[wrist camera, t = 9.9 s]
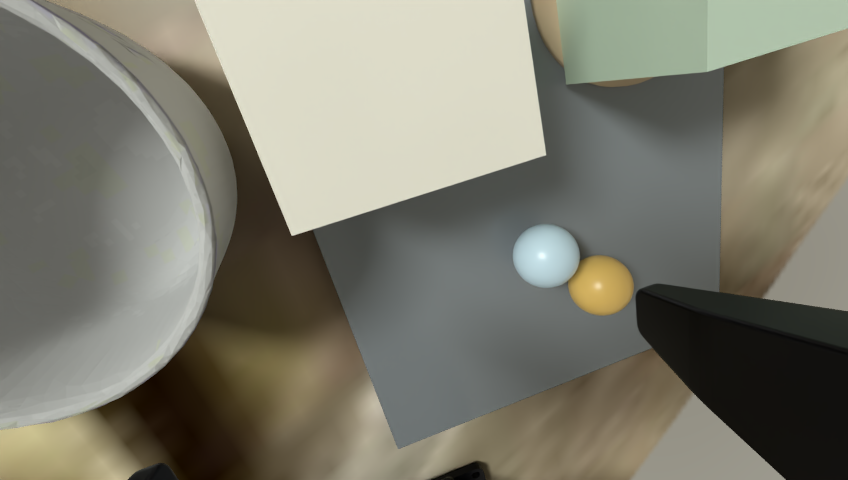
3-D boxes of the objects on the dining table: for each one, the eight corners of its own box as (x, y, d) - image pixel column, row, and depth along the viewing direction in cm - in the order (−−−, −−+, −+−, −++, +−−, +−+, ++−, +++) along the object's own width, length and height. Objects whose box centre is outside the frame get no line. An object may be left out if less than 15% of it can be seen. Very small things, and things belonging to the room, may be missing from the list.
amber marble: (609, 288, 22) (649, 314, 19) (560, 306, 22) (594, 335, 19) (604, 239, 21) (646, 259, 18) (553, 257, 21) (588, 281, 18)
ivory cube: (465, 136, 18) (546, 155, 11) (305, 185, 17) (291, 236, 10) (424, -54, 15) (498, -176, 8) (232, -8, 14) (151, -105, 8)
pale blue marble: (561, 262, 21) (597, 286, 18) (508, 280, 20) (536, 308, 18) (553, 208, 20) (590, 225, 17) (497, 227, 19) (526, 248, 16)
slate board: (710, 316, 25) (718, 321, 25) (396, 440, 23) (398, 448, 22) (716, -223, 16) (730, -235, 15) (181, -115, 13) (174, -125, 13)
